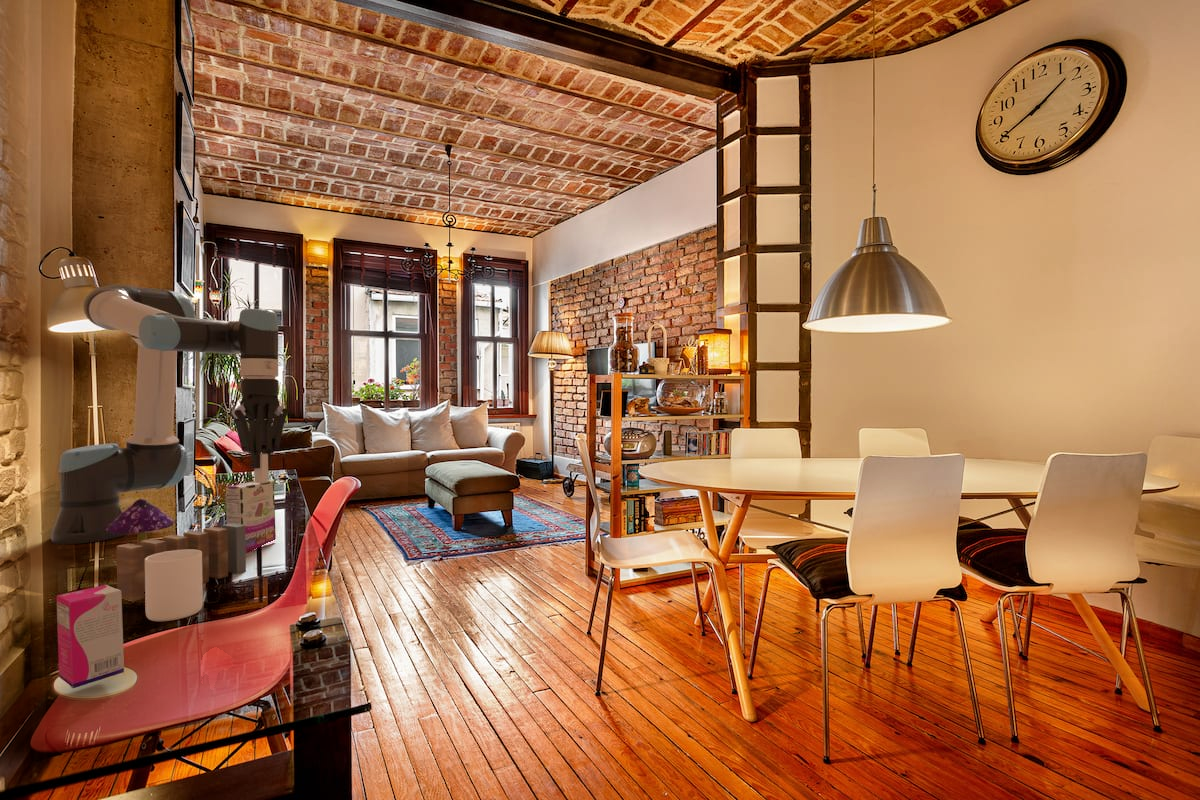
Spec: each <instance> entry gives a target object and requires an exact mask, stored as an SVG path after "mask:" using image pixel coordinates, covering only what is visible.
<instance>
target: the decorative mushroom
mask: <svg viewBox="0 0 1200 800" xmlns="http://www.w3.org/2000/svg"><path fill="white" fill-rule="evenodd" d="M122 512H123V513H122V514H121V515H119V516H118V517H117V518H116V519H115V520H114V521H113V522H112V523H111V524H110V525H109V526H108V527H107V528H106V530H107V531H108V532H109V533H113V534H126V535H129V534H137V539H136V545H140V541H144V540H148V532H153V531H159V530H163V529H167V528H170V527H172V526H173V525H174V524H175V523H176V522H175V520H174V519H173V518H172V517H170V516H169V515H168V514H166V513H165V512H164V511H163V510H161V508H159V507H157V506H155V505H153V504H152V503H150V502H148V500H147V499H145V498H139V499H136V500H135V501H134V502H133V504H132V505H130V506H129V507H127V508H126V509H125V510H124V511H122Z"/></svg>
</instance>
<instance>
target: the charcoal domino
mask: <svg viewBox="0 0 1200 800" xmlns="http://www.w3.org/2000/svg"><path fill="white" fill-rule="evenodd" d="M221 528H223V529H227V537H228V573H231V574H235V575H236V574H237V575H239V574H241V573H245V572H247V555H246V554H247V553H246V533H245V525H239V524H232V523H230V524H225V523H224V524H222V525H221Z"/></svg>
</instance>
